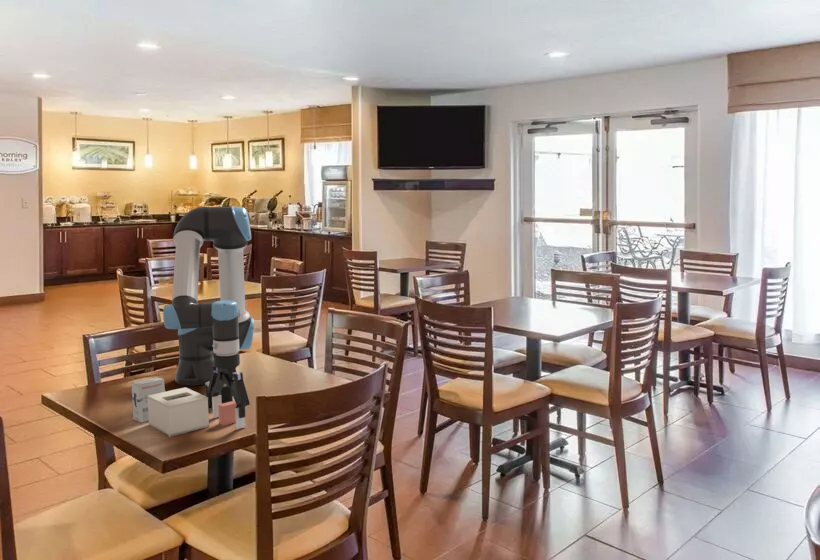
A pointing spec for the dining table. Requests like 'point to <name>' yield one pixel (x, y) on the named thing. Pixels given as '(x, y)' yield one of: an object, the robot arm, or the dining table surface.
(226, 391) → the sushi
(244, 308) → the robot arm
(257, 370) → the dining table surface
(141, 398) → the ink box
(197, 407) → the tissue box
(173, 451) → the dining table surface
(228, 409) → the pink flat block
